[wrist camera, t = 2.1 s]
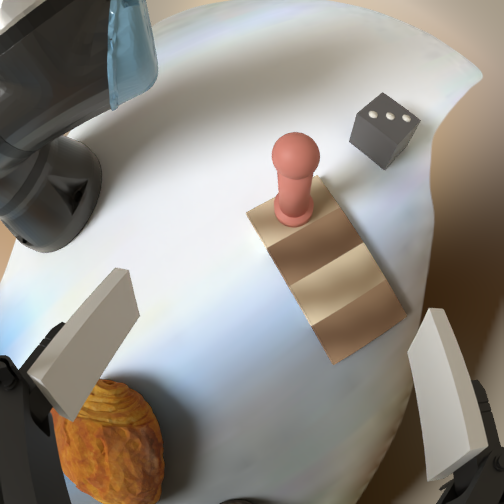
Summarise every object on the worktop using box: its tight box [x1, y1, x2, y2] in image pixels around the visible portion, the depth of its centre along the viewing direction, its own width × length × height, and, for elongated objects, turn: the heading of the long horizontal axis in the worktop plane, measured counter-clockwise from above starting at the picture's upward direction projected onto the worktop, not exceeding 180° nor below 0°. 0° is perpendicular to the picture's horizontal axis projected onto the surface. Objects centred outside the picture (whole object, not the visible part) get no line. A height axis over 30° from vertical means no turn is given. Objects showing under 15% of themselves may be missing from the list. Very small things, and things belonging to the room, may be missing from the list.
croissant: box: [50, 379, 165, 504], centre depth 22 cm, size 14×16×8 cm
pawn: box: [272, 132, 320, 228], centre depth 23 cm, size 4×4×11 cm
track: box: [246, 175, 407, 365], centre depth 27 cm, size 16×8×1 cm, turn 29°
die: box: [349, 92, 421, 170], centre depth 28 cm, size 5×5×5 cm
